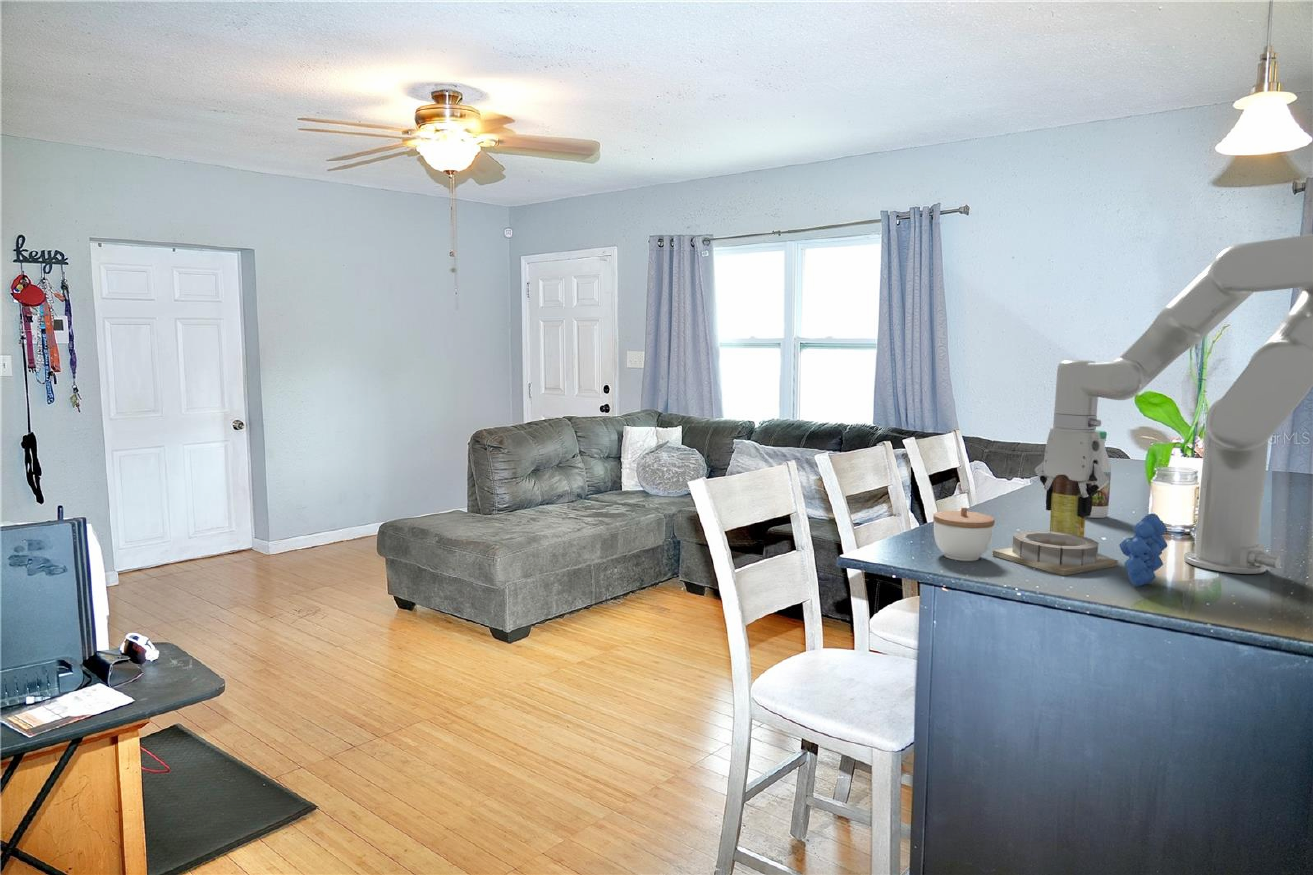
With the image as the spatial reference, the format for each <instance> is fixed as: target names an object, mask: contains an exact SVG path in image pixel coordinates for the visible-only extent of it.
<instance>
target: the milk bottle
mask: <svg viewBox="0 0 1313 875" xmlns="http://www.w3.org/2000/svg"><path fill="white" fill-rule="evenodd" d="M1095 431H1096V432H1099V433H1100V438H1101V445H1102V471H1103V472H1104V474H1105V475H1106V476H1107V477H1108V479H1109V483H1108V484H1107V485H1106V486H1104V487H1103V488H1102V489H1101V490H1100V491H1099V492H1098V493H1097V494H1096V496H1093V500H1092V511H1091V515H1090V516H1088V517H1087V518H1092V519H1093V518H1095V519H1104V518H1107V517H1108V513H1109V505H1110V492H1111V491H1110V490H1111V480H1112V479H1111V478H1112V477H1111V476H1112V464H1111V460H1110V458H1109V455H1108V453H1107V450H1106V445H1105V443H1106V442H1107V434H1108V433H1107V431H1105V430H1099V429H1096V430H1095ZM1096 482H1097V481H1093V484H1095V483H1096Z"/></svg>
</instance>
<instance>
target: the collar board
mask: <svg viewBox="0 0 1313 875" xmlns="http://www.w3.org/2000/svg"><path fill="white" fill-rule="evenodd" d="M992 557H996V558H1000V559H1004V560H1007V561H1011V562H1013V563H1018V564H1022V565H1025V566H1028V567H1032V568H1036V569H1038V570H1043V571H1045V572H1049V573H1053V574H1057V575H1060V576H1062V577H1063V576H1069V575H1074V574H1081V573H1085V572H1090V571H1096V570H1103V569H1106V568H1107V569H1108V568H1112V567H1113V568H1114V567H1118V566H1119V565H1118V564H1119V563H1118V562H1119V560H1117V559H1113V558H1109V557H1106V556H1102V555H1099V542H1098V541H1095V540H1094V539H1092V538H1089V537H1087V536H1084V537H1083V536H1078V535H1074V534H1069V533H1061V532H1052V531H1050V530H1026V531H1024V530H1023V531H1018V532H1015V533H1014V535H1013V537H1012V547H1007V548H1000V549H994V550H992Z"/></svg>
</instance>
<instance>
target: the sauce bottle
mask: <svg viewBox="0 0 1313 875" xmlns="http://www.w3.org/2000/svg"><path fill="white" fill-rule="evenodd" d="M1079 497H1082V494H1081V491H1080V488H1079V484H1078V482H1075V481H1073V480H1070V479H1069V478H1068V476H1066V475H1063V474H1062V475H1060V474H1059V475H1057V476H1056V477H1055V478H1054V480H1053V492H1052V501H1051V510H1050V520H1049V532H1050V531H1052V532H1061V533H1069V534H1074V535H1078V536H1083V537H1085V524H1086V517H1078V516H1077V511H1078V498H1079Z"/></svg>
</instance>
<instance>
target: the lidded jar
mask: <svg viewBox="0 0 1313 875" xmlns="http://www.w3.org/2000/svg"><path fill="white" fill-rule="evenodd" d="M960 508H961V510H942V511H935V513H933V536H934V540H935V544H936V546H937V548H939V550H940V552H942V553H943V554H944V557H945V558H947V559H950V560H955V561H959V562H961V561H962V562H974V561H977V560H978V561H979V559H980V557H981V556H983V555H984V554H985V553H986V552H987V550H989V548H990V546H991V543H992V540H993V535H994V526H995V521H996V520H995V518H994V517H993V516H991V515H988V514H984V513H981V512H974V511H968V507H966V506H964V507H963V506H962V507H960Z"/></svg>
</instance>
